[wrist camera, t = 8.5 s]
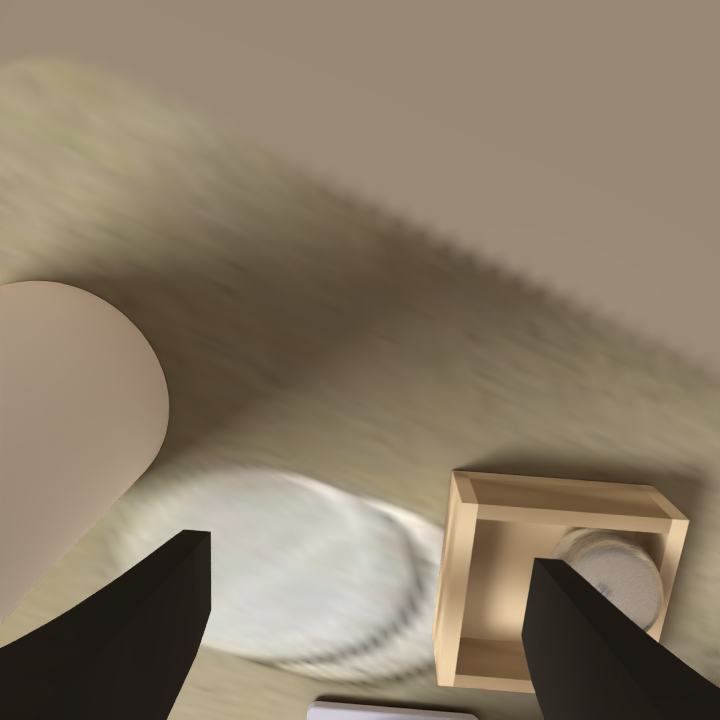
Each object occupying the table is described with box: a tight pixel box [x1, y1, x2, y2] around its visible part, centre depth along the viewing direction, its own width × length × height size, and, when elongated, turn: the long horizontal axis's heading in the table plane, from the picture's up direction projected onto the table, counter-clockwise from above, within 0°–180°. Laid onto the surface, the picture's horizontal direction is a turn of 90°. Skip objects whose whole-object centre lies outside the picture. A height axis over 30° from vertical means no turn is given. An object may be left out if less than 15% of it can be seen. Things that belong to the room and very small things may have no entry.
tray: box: [432, 470, 689, 693], centre depth 21 cm, size 8×8×3 cm
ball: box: [548, 528, 663, 632], centre depth 20 cm, size 4×4×4 cm
